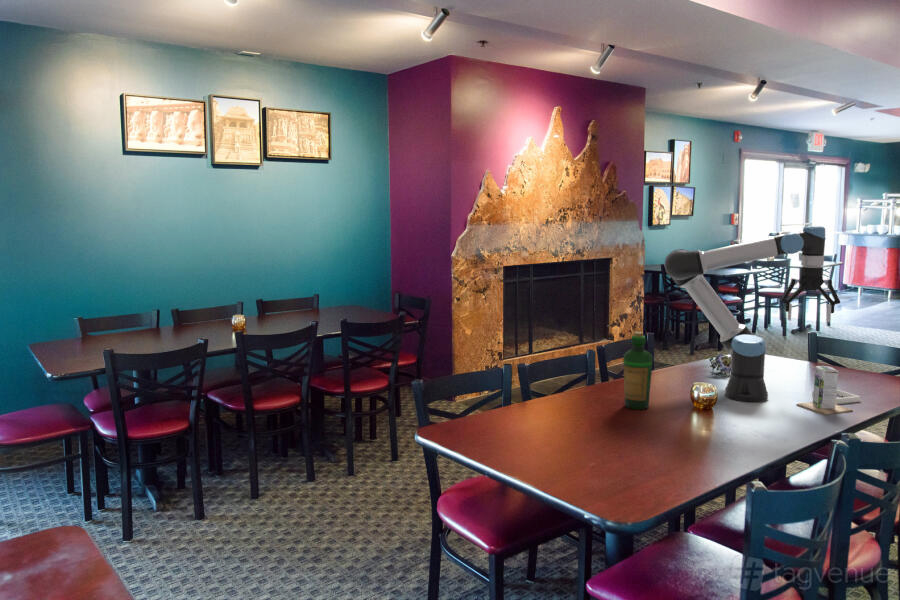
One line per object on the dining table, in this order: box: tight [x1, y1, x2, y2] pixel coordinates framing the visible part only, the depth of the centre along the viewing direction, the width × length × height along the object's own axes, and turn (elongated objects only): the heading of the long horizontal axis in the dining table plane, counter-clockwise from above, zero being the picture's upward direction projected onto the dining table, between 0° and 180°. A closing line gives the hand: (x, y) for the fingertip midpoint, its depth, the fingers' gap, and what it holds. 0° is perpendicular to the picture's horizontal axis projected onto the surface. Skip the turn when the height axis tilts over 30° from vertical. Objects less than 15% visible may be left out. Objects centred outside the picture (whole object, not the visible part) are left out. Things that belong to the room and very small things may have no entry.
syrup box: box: [812, 365, 839, 409], centre depth 231 cm, size 6×6×14 cm
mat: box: [796, 401, 854, 416], centre depth 232 cm, size 13×12×1 cm
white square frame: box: [811, 388, 862, 405], centre depth 243 cm, size 11×11×2 cm
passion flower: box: [709, 351, 731, 377], centre depth 283 cm, size 11×11×12 cm
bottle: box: [622, 331, 654, 411], centre depth 235 cm, size 11×11×28 cm
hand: (808, 320), depth 249 cm, fingers open, 13 cm apart
